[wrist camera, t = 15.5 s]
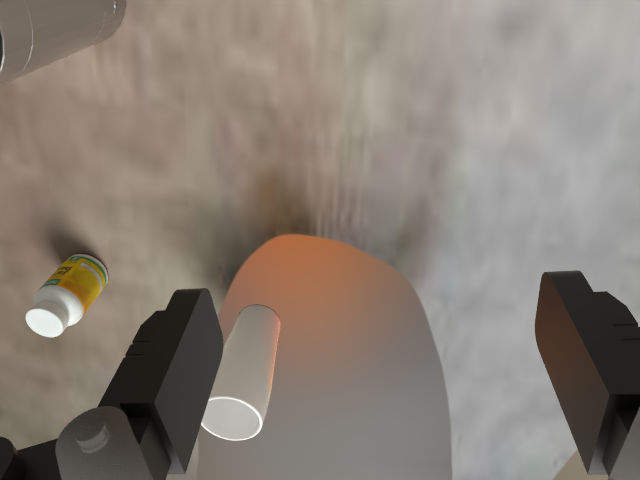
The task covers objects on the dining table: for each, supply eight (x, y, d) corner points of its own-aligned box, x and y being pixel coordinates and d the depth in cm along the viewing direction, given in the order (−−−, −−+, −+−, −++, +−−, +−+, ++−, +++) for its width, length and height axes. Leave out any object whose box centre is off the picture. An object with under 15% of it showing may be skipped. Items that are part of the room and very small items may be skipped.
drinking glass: (229, 332, 65) (192, 432, 52) (237, 291, 61) (198, 389, 49) (281, 344, 65) (257, 447, 52) (292, 305, 61) (268, 405, 49)
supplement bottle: (92, 295, 64) (50, 349, 56) (57, 266, 62) (8, 318, 54) (118, 274, 62) (78, 328, 54) (83, 244, 60) (36, 295, 52)
